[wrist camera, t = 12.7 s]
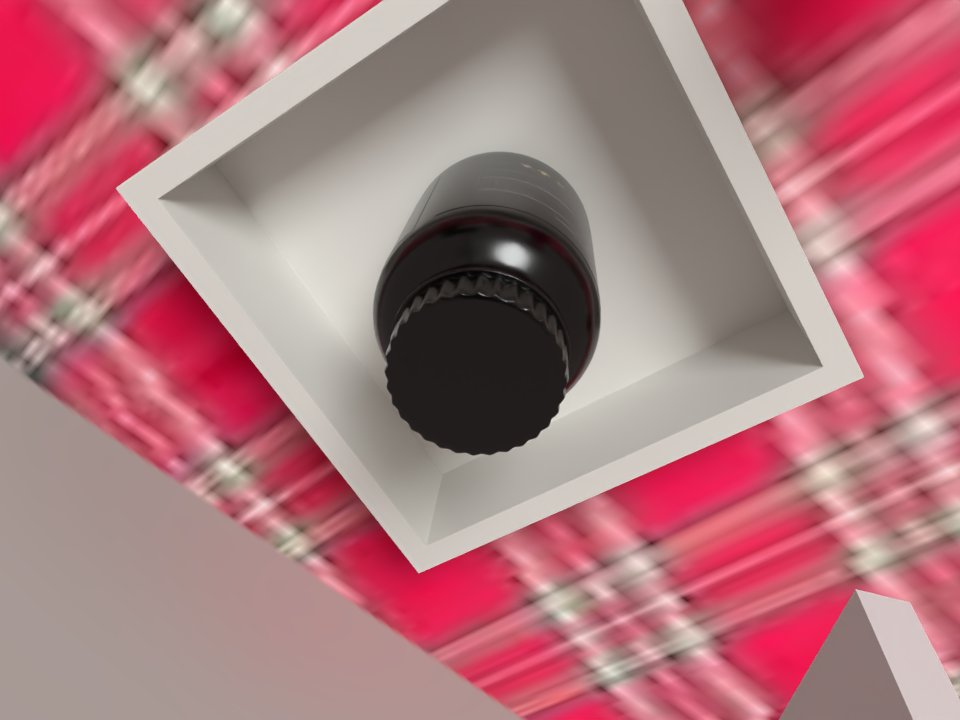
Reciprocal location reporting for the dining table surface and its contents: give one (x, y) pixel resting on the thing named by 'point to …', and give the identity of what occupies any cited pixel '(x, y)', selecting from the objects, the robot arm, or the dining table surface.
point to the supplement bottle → (488, 304)
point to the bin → (613, 224)
